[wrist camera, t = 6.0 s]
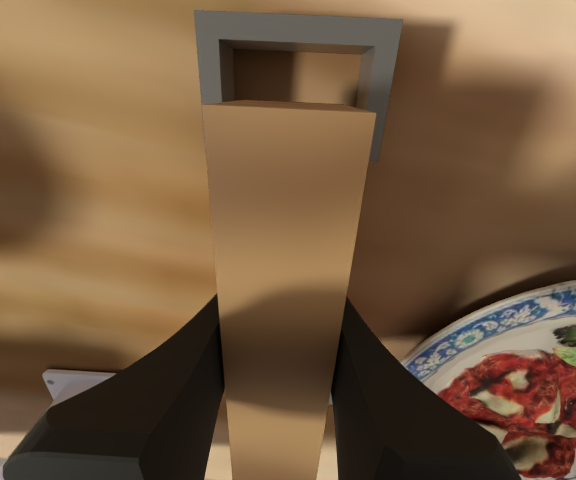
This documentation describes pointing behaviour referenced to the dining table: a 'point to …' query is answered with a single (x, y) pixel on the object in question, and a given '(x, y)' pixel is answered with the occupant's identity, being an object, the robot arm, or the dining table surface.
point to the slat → (282, 269)
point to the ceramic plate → (513, 376)
